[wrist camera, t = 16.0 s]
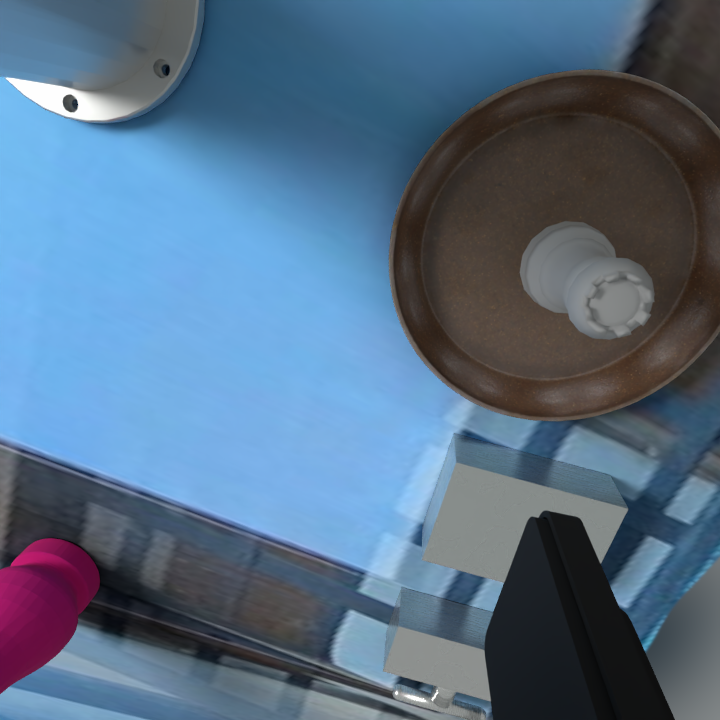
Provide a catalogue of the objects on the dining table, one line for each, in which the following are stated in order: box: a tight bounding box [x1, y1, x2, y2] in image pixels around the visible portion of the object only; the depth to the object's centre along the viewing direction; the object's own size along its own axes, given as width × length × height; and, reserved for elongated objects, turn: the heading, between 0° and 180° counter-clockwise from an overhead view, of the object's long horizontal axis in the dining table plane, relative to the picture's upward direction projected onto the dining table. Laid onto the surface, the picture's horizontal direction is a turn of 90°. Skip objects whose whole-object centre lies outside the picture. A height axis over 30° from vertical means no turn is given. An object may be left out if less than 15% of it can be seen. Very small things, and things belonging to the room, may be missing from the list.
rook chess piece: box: [520, 221, 655, 340], centre depth 25 cm, size 4×4×8 cm
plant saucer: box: [389, 70, 720, 421], centre depth 30 cm, size 18×18×3 cm
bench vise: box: [383, 434, 628, 720], centre depth 37 cm, size 21×10×4 cm, turn 167°
